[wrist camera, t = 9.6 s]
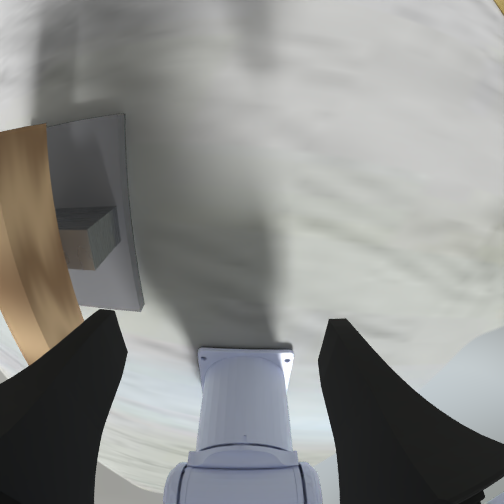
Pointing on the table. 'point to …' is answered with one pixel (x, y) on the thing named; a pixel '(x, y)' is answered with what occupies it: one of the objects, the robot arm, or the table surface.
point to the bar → (32, 247)
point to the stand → (95, 211)
